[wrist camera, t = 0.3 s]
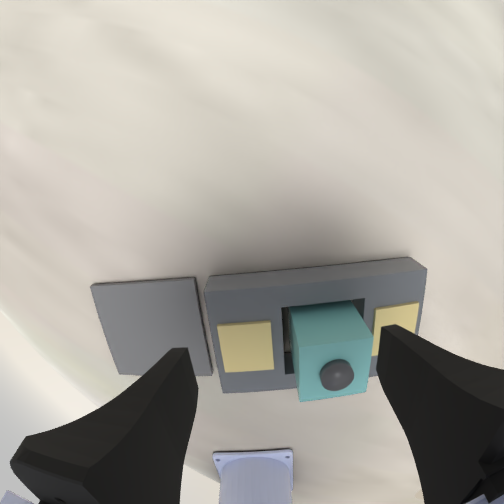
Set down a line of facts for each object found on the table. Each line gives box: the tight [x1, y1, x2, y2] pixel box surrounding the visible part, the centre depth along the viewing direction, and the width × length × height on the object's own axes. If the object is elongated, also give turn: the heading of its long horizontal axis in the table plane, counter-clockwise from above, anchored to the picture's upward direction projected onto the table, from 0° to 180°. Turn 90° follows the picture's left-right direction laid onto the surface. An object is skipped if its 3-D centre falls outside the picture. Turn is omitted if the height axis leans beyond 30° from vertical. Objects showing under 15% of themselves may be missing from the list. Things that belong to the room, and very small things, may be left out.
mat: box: [90, 277, 213, 376], centre depth 21 cm, size 8×8×1 cm
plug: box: [288, 300, 374, 402], centre depth 18 cm, size 4×4×7 cm
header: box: [204, 257, 427, 393], centre depth 20 cm, size 8×14×3 cm, turn 95°
